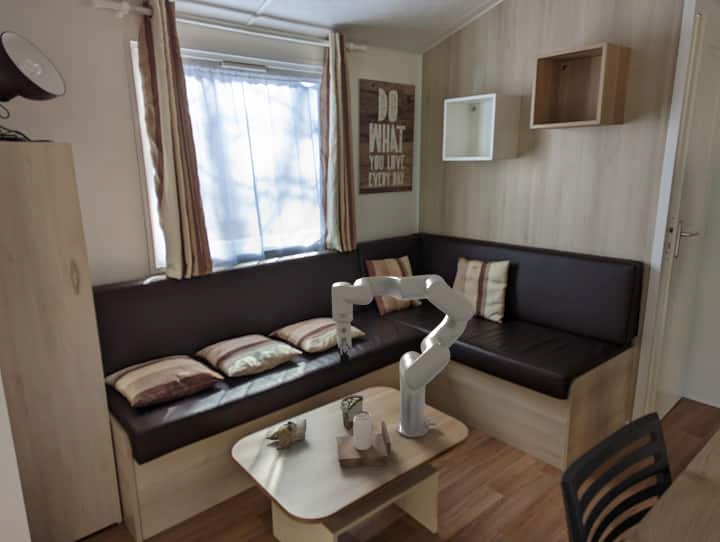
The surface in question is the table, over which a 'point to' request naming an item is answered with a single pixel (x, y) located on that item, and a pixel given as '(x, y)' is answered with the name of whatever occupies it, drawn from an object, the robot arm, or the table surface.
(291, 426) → the ceramic sculpture
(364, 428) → the can
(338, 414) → the table surface
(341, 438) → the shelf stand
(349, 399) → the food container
